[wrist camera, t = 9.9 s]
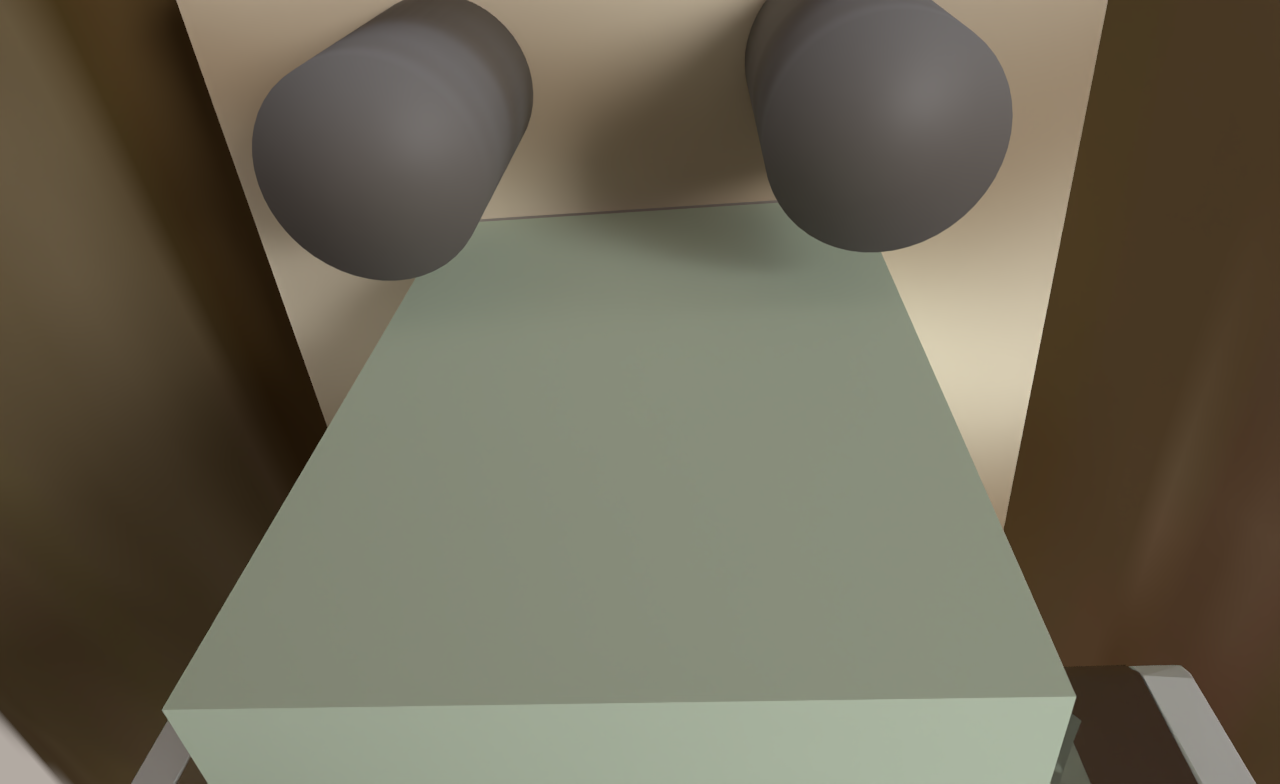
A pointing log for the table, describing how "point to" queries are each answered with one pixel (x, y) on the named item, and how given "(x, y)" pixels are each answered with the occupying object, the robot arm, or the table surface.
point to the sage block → (635, 537)
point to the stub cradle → (665, 150)
